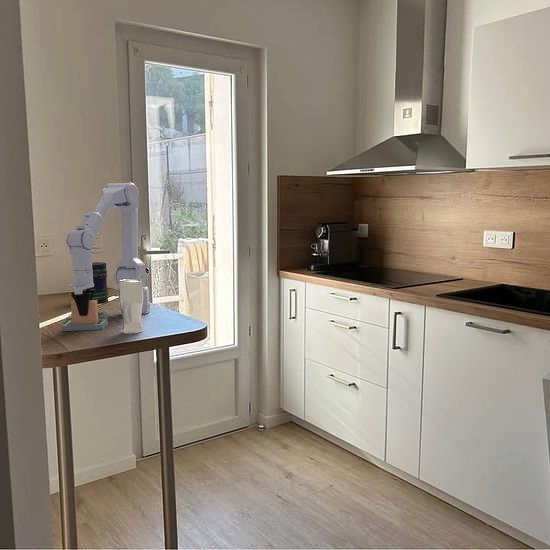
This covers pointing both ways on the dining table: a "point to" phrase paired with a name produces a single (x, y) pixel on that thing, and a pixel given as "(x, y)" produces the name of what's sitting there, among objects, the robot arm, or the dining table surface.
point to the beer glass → (131, 305)
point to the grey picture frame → (85, 326)
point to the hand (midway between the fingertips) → (85, 314)
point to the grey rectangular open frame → (100, 316)
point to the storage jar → (100, 282)
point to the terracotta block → (91, 316)
